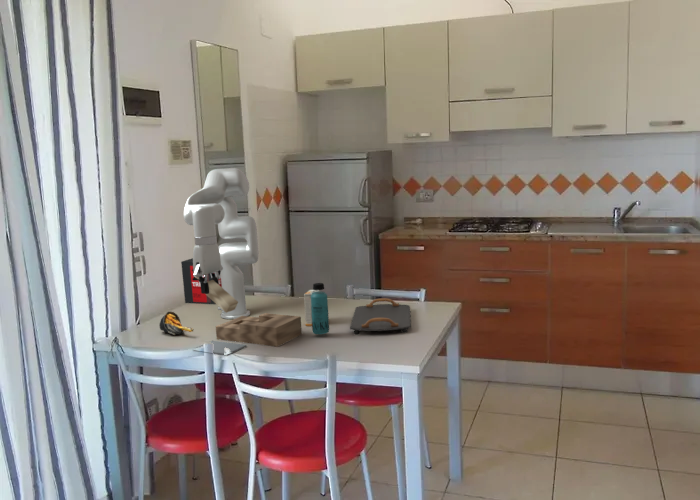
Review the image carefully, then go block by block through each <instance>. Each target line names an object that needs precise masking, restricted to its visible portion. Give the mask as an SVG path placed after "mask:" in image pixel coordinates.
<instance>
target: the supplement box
mask: <svg viewBox="0 0 700 500" xmlns="http://www.w3.org/2000/svg"><path fill="white" fill-rule="evenodd" d="M318 291H321V290H313V289H308V290H307V291H306V292H305V293H304V294H303V298H304V299H303V302H304V315H305V317H304V318H305V326H306V327H312V317H311V315H312V312H311V295H312V293H314V292H318Z"/></svg>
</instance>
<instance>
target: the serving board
mask: <svg viewBox="0 0 700 500" xmlns="http://www.w3.org/2000/svg"><path fill="white" fill-rule="evenodd" d="M378 302H379V303H380V304H377V303H378ZM381 302H387V303H383V304H382V303H381ZM375 303H376V304H375ZM411 312H412V311H411V305H409V304H400V303H399V302H395V301H394V300H393V299H391V298H385V297H383V298H375V299H372V301H370V303H367V304H366V305H360V306H356V307H355V310H354V312H353V316H352V320H351V323H350V326H349V329H350V330H352V331H353V335H359V334H360V331H364V332H371V331H372V332H374V331H375V332H376V331H377V332H382V331H396V330H401V333H403V334H404V333H405V334H407V332H408V329H410V328H411V321H412V320H411V318H412V317H411V316H412V315H411Z"/></svg>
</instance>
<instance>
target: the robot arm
mask: <svg viewBox="0 0 700 500" xmlns="http://www.w3.org/2000/svg"><path fill="white" fill-rule="evenodd" d="M249 191H250V183H249V180H248V177H247V176H246V174H245V173H244V171H242V170H241V169H239V168H237V167H230V168H229V167H227V168H215V169H212V170H210V171H209V172H208V173H207V175H206V178H205V182H204V184H203V187H202V188H200V189H199V190H197V191H195V192H193V193H192V194H191V195H189V197H188V198H187V200H186V203H185V204H184V208H183V220H184V222H185V223H186V224H187V225H188V226H192V227H193V237H194V246H193V252H192V258H193V270H194V274H193V276H194V277H195V278H197V280H198V281H199V283H200V285H201V293H202V294H209V285H208V282H207V274H209V273H210V274H211V278H212V279H210V281H211V280H214V281H215V282H216V283H217V284H218V285H219V282H218V279H219V275H220V273H221V284H222V288H223V289H224V290H225V291H226V292H227V293H229V294H230V295H231V296H232V297H233V298H234V299H235V300H236V301H238V304H237V306H236V308H235V310H232V311H230V312H227V313H226V312H225V311H224V310H222V309H221V308H220V307H219V306H217V310H218V311H221V313H220V318H222V319H225V320H226V319H227V320H233V319H236V318H238V317H241V316H250V314H251V311H250V310H248V309H247V303H246V302H247V301H246V290H245V289H246V288H245V279H244V273H243V271H242V270H241V269H240V267H239V265H252V264H256V263H258V260H259V256H260V255H259V252H260V251H259V239H258V229H257V227H258V226H257V222H256V220H255V218H254V217H253V216H248V215H244V216H239V215H238V205H237V203H236V201H235V200H234V197H235V198H236V197H245V196H247V195H248V194H249ZM216 225H217V227H216ZM216 229H218V235H219V237H220V238H221V239H223V240H242V239H243V240H246V241H239V242H238V241H237V242H234V241H233V242H225V243H221V244H219V245H218V241H217V238H218V237H217V230H216ZM203 275H204V278H203V277H202V276H203Z"/></svg>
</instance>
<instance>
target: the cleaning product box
mask: <svg viewBox="0 0 700 500" xmlns="http://www.w3.org/2000/svg"><path fill="white" fill-rule="evenodd" d="M180 263H181V272H182V281H183V283H182V285H183V294H184V304H196V305H197V304H200V305H217V304H216V303H215V302H214V301H212V300H211V299H210V298H209V297H208V296H207V295H206V294H202V293H201V285H200V283H199V281H198V280H197V278H195V277H194V276H193V274H194V270H193V257H191V258H189V259H186V260H185V259H184V260H182V261H181V262H180ZM202 277H203V278H204V275H203V276H202ZM210 279H212V278H211V274H210V273H209V274H207V282H208V281H210ZM218 282H219V285H220V286H221V287H222V284H221V273H220V275H219V279H218Z"/></svg>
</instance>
